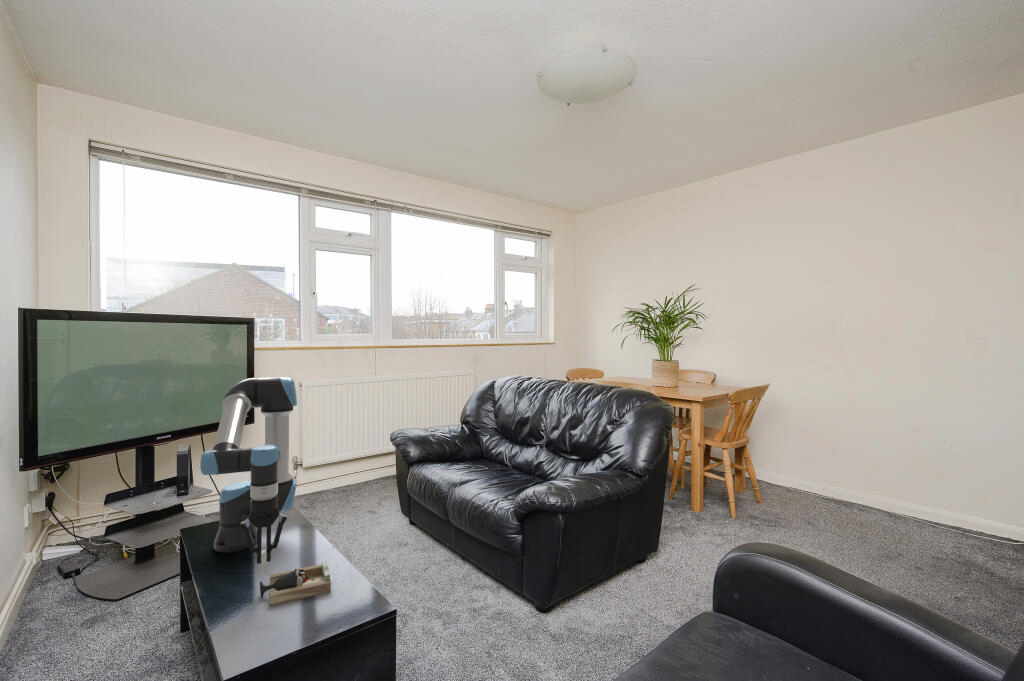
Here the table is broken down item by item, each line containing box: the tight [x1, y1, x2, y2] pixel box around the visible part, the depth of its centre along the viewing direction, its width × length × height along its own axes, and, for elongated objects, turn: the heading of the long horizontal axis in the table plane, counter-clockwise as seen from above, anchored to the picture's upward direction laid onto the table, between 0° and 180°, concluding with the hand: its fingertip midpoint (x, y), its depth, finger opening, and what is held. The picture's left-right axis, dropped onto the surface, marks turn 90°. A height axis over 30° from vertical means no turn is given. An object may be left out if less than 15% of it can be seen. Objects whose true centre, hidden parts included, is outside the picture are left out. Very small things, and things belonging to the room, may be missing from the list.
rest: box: [269, 561, 332, 607], centre depth 146 cm, size 14×17×4 cm
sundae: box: [259, 568, 314, 599], centre depth 144 cm, size 7×7×15 cm
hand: (263, 572), depth 142 cm, fingers closed
